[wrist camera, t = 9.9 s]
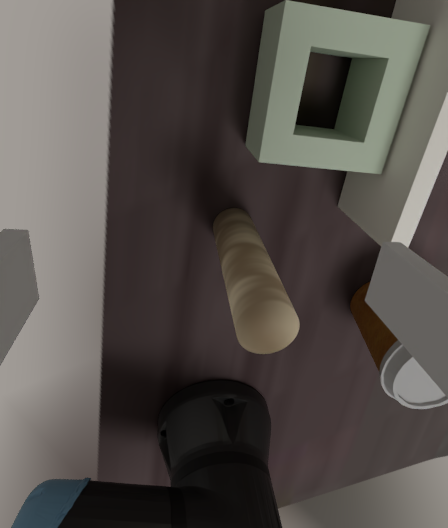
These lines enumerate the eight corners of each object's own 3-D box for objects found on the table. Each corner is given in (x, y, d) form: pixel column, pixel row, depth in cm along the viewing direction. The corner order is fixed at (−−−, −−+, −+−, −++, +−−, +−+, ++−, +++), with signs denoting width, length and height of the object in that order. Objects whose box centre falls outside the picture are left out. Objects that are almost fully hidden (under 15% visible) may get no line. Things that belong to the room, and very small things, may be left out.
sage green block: (245, 145, 33) (258, 162, 27) (265, 10, 28) (285, -1, 23) (349, 156, 34) (381, 174, 29) (385, 30, 30) (430, 25, 24)
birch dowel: (225, 251, 38) (254, 363, 24) (205, 221, 36) (224, 323, 22) (259, 232, 37) (309, 335, 24) (240, 200, 35) (283, 292, 22)
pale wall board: (337, 206, 37) (387, 252, 28) (409, -47, 27) (517, -95, 19) (352, 207, 37) (406, 253, 29) (428, -43, 28) (544, -88, 19)
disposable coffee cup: (333, 336, 46) (380, 419, 35) (340, 270, 41) (397, 343, 31) (406, 326, 46) (474, 404, 36) (422, 261, 42) (504, 329, 31)
